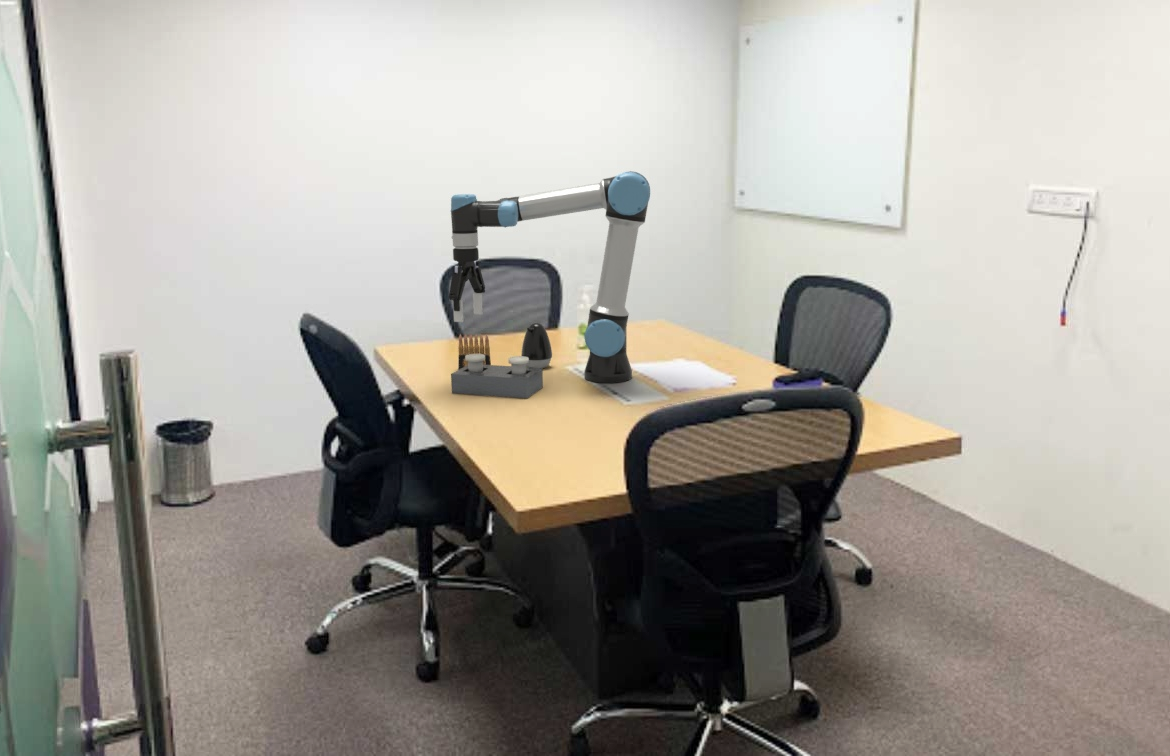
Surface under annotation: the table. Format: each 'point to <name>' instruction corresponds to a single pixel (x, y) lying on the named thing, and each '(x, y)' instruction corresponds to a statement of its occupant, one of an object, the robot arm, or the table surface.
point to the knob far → (475, 362)
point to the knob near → (518, 364)
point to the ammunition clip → (473, 349)
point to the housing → (497, 382)
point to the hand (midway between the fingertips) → (468, 317)
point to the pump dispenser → (537, 346)
